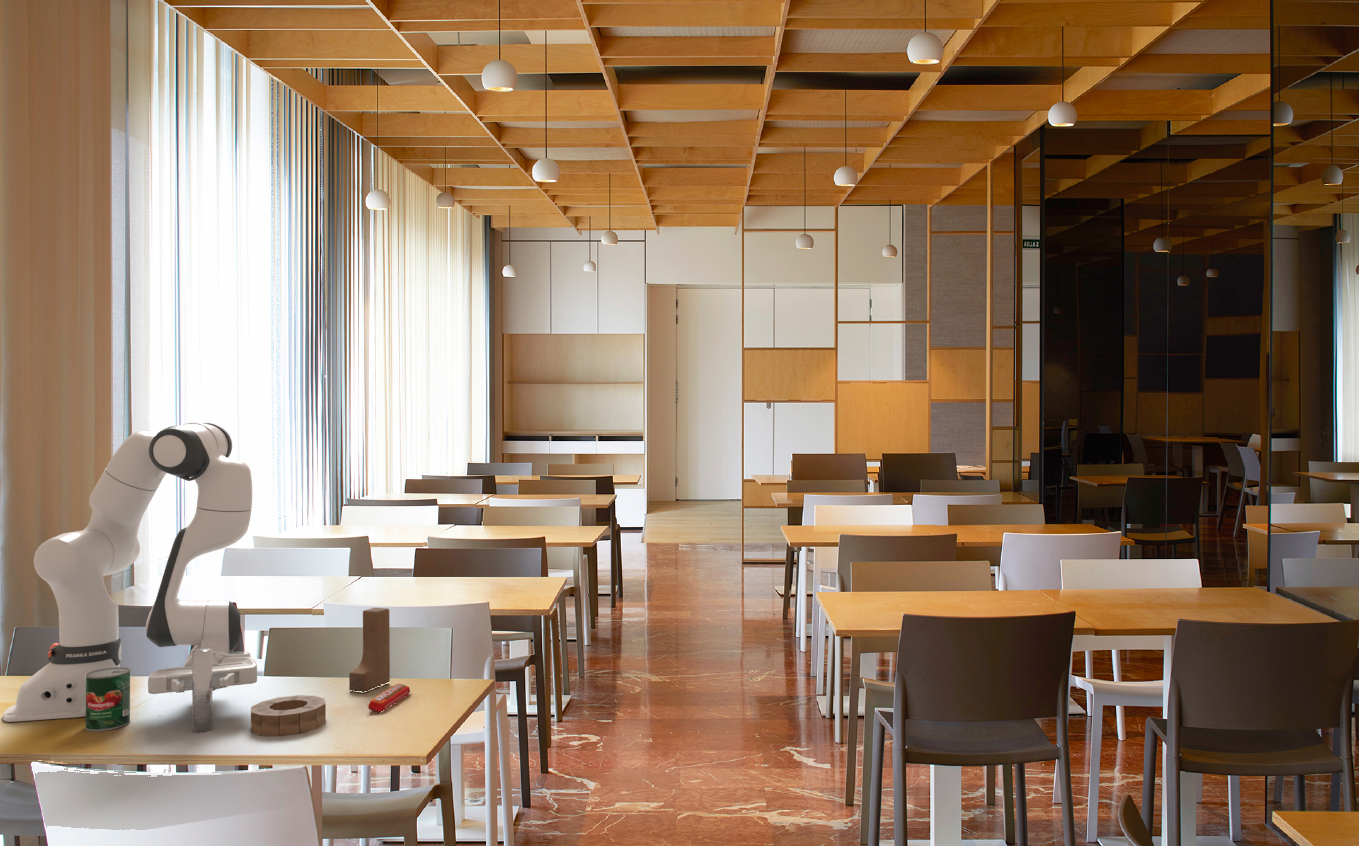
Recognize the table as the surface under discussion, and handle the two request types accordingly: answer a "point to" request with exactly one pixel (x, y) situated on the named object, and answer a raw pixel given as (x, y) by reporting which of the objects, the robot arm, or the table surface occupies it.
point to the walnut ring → (288, 715)
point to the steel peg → (201, 690)
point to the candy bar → (388, 697)
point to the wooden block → (373, 652)
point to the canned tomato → (107, 699)
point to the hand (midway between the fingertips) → (202, 686)
